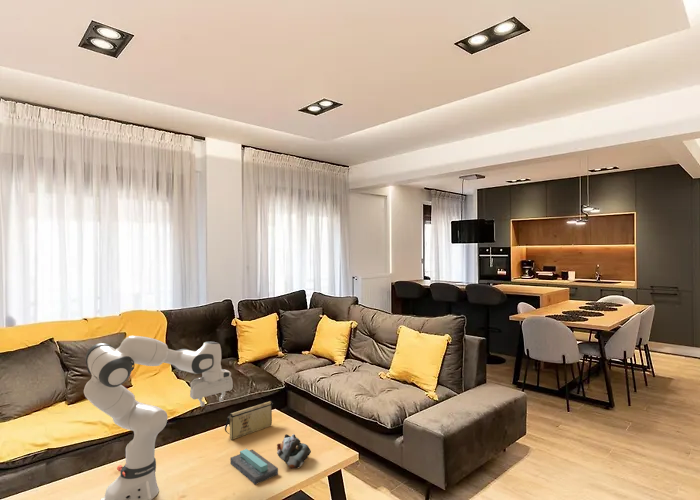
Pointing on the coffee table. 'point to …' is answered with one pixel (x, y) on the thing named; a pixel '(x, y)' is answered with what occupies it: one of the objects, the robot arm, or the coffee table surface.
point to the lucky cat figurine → (293, 451)
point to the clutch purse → (249, 420)
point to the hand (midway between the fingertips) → (212, 403)
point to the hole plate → (250, 470)
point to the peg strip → (254, 460)
